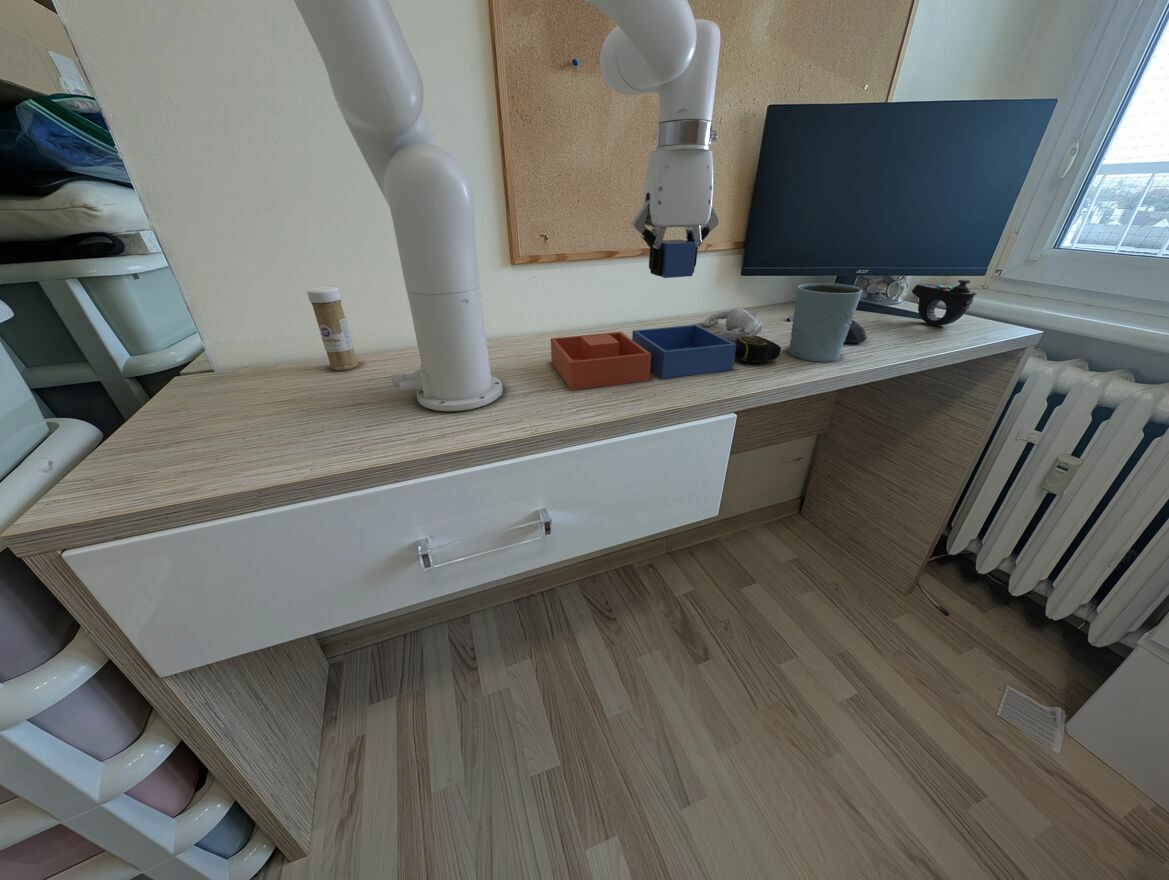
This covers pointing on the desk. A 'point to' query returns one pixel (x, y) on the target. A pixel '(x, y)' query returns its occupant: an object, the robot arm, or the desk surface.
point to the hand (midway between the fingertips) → (671, 272)
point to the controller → (952, 297)
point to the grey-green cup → (822, 320)
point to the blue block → (678, 258)
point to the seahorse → (736, 323)
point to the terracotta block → (599, 347)
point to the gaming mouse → (855, 333)
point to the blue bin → (685, 350)
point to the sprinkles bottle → (333, 327)
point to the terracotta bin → (600, 363)
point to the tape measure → (756, 349)
